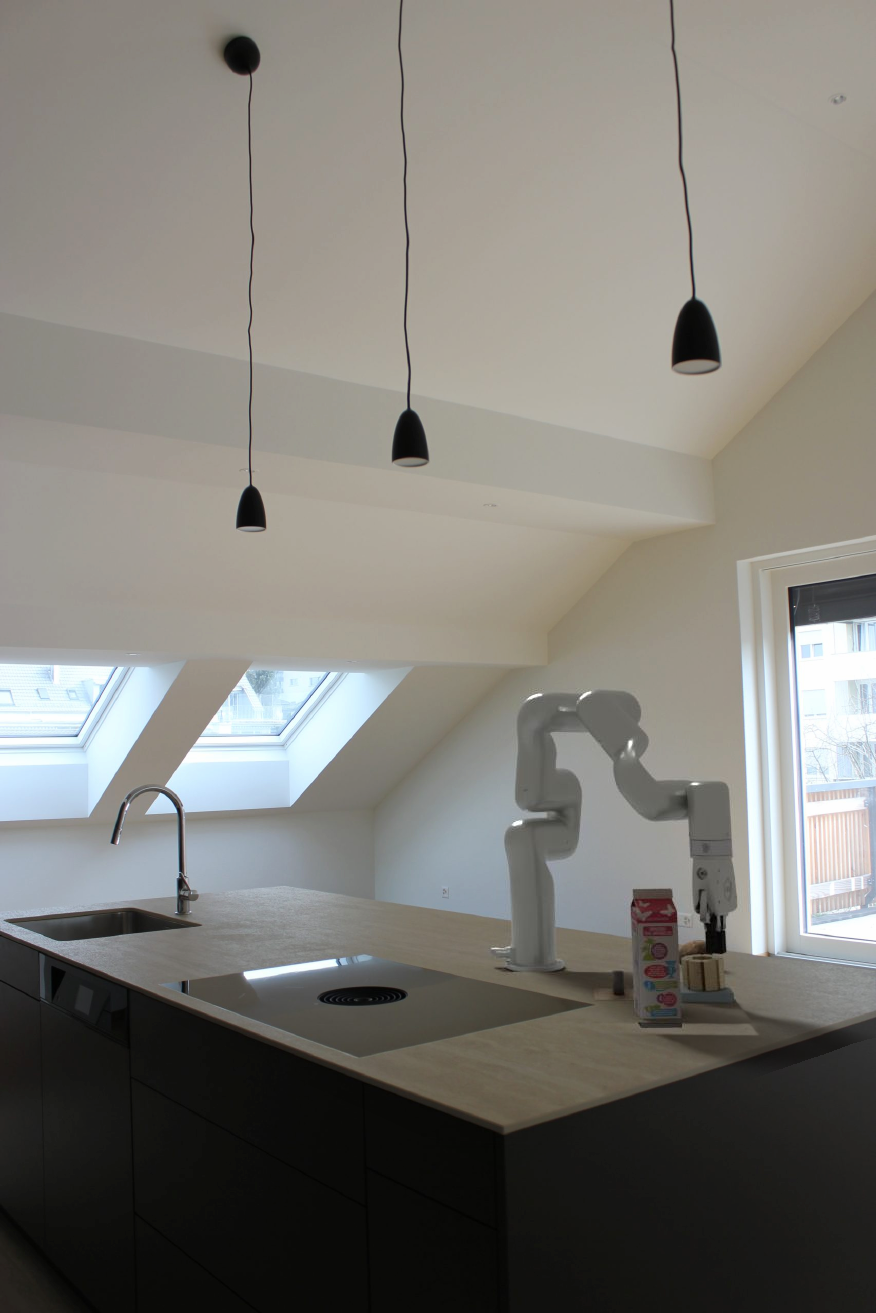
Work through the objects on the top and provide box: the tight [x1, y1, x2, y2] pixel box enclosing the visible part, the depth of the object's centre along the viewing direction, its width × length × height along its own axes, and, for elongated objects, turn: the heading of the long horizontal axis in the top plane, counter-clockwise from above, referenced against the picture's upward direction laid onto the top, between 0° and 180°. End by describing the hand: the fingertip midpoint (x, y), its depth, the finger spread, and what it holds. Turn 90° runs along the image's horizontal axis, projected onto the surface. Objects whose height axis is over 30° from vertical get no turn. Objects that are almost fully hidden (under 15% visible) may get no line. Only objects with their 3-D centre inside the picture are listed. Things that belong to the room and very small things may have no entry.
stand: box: [592, 970, 634, 1001], centre depth 184 cm, size 9×9×6 cm
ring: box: [681, 954, 726, 991], centre depth 182 cm, size 7×7×5 cm
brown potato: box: [679, 939, 714, 967], centre depth 214 cm, size 8×8×6 cm
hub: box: [680, 981, 735, 1003], centre depth 181 cm, size 9×9×7 cm
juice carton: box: [630, 888, 683, 1029], centre depth 170 cm, size 7×7×22 cm
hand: (716, 952), depth 182 cm, fingers closed
